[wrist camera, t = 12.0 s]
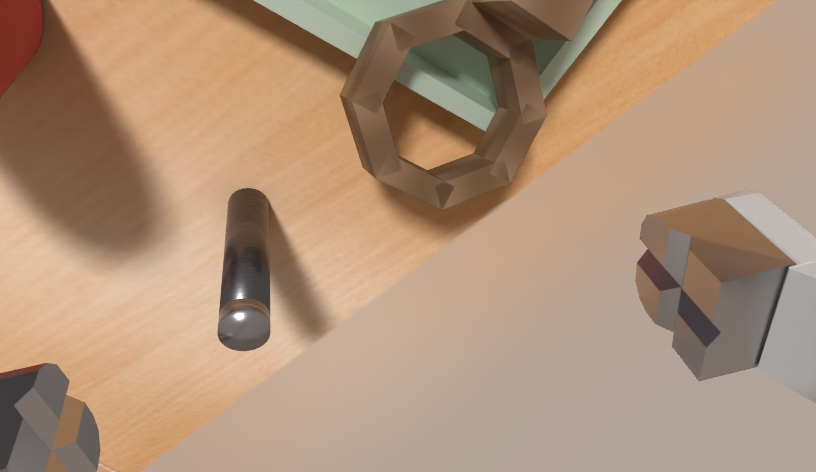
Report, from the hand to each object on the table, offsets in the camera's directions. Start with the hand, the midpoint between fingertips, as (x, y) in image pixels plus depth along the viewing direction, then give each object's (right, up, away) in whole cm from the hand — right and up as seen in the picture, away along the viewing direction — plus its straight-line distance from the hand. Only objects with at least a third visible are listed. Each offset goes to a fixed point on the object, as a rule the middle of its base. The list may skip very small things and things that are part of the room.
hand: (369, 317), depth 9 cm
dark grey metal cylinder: (-8, +3, +26) cm, 28 cm away
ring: (+3, +10, +21) cm, 23 cm away
